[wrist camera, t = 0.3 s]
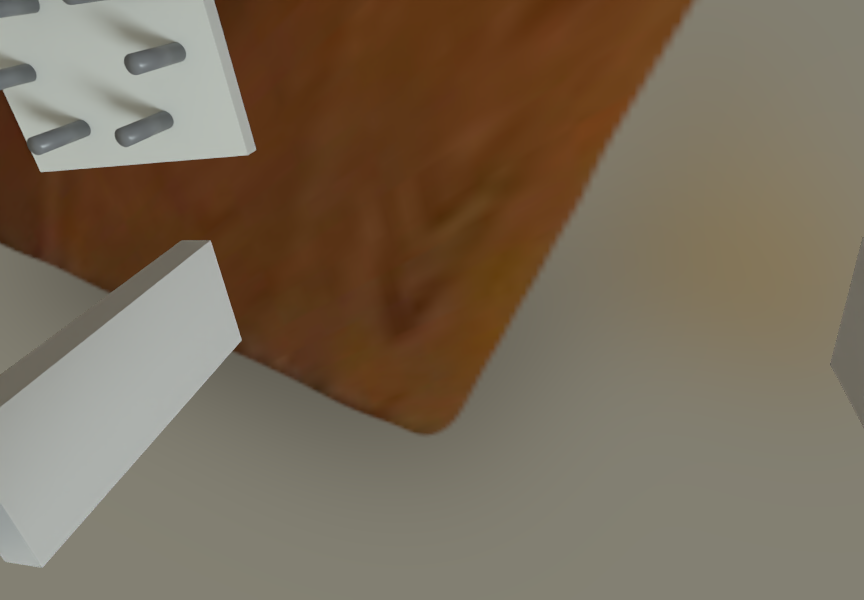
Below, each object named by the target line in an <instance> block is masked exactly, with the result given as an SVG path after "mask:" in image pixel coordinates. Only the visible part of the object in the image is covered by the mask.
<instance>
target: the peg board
mask: <svg viewBox="0 0 864 600" xmlns="http://www.w3.org/2000/svg"><path fill="white" fill-rule="evenodd" d="M2 89H3V92H4V94H5V96H6V98H7V100H8V102H9V105H10V107H11V109H12V111H13V113H14V115H15V118H16V120H17V122H18V124H19V126H20V128H21V131H22V133H23V135H24V137H25V139H26V141H27V146H28V148H29V150H30V151H31V152H32V154H33V157H34V159H35V161H36V163H37V165H38V167H39V170H40V172H48V171H60V170H72V169H85V168H97V167H109V166H121V165H133V164H145V163H158V162H170V161H182V160H194V159H206V158H218V157H231V156H243V155H249V154H251V153H252V152H254V151H255V150H256V147H255V144H254V140H253V137H252V133H251V130H250V126H249V122H248V119H247V115H246V112H245V108H244V105H243V101H242V98H241V94H240V91H239V87H238V84H237V80H236V77H235V73H234V69H233V66H232V62H231V59H230V55H229V52H228V48H227V45H226V41H225V38H224V34H223V31H222V27H221V24H220V20H219V17H218V13H217V9H216V6H215V2H214V0H0V90H2Z"/></svg>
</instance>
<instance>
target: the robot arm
mask: <svg viewBox="0 0 864 600" xmlns="http://www.w3.org/2000/svg"><path fill="white" fill-rule="evenodd" d="M241 340H242V339H241V336H240V333H239V330H238V327H237V324H236V320H235V317H234V314H233V311H232V308H231V304H230V301H229V298H228V295H227V292H226V288H225V285H224V282H223V279H222V276H221V272H220V269H219V266H218V263H217V260H216V256H215V253H214V250H213V247H212V244H211V241H210V240H182V241H180V242H179V243H178V244H176V245H175V246H174V247H172V248H171V249H170V250H168V251H167V252H165V253H164V254H163V255H161V256H160V257H159V258H157V259H156V260H155V261H153V262H152V263H151V264H149V265H148V266H147V267H145V268H144V269H142V270H141V271H140V272H138V273H137V274H136V275H134V276H133V277H132V278H130V279H129V280H128V281H126V282H125V283H124V284H122V285H121V286H119V287H118V288H117V289H115V290H114V291H113V292H111V293H110V294H109V295H107V296H106V297H105V298H103V299H102V300H101V301H99V302H98V303H96V304H95V305H94V306H93V307H91V308H90V309H88V310H87V311H86V312H84V313H83V314H82V315H80V316H79V317H78V318H76V319H75V320H73V321H72V322H71V323H69V324H68V325H67V326H65V327H64V328H63V329H61V330H60V331H59V332H57V333H56V334H55V335H53V336H52V337H51V338H49V339H48V340H46V341H45V342H44V343H43V344H41V345H40V346H38V347H37V348H36V349H34V350H33V351H32V352H30V353H29V354H27V355H26V356H25V357H23V358H22V359H21V360H19V361H18V362H17V363H15V364H14V365H13V366H11V367H10V368H9V369H7V370H6V371H4V372H3V373H2V374H0V555H1V557H2V558H3V559H4V561H5V562H10V563H17V564H23V565H29V566H35V567H41V568H42V567H43V566H44V565H45V564H46V563H47V561H48V560H49V559H50V558H51V557H52V556H53V555H54V553H56V551H57V550H58V549H59V548H60V547H61V546H62V545H63V543H64V542H65V541H66V540H67V539H68V538H69V537H70V535H71V534H72V533H73V532H74V531H75V529H77V527H78V526H79V525H80V524H81V523H82V522H83V520H84V519H85V518H86V517H87V516H88V515H89V514H90V513H91V511H92V510H93V509H94V508H95V507H96V506H97V505H98V503H99V502H100V501H101V500H102V499H103V498H104V497H105V495H106V494H107V493H108V492H109V491H110V490H111V489H112V488H113V486H114V485H115V484H116V483H117V482H118V481H119V480H120V478H121V477H122V476H123V475H124V474H125V472H127V470H128V469H129V468H130V467H131V466H132V465H133V464H134V462H135V461H136V460H137V459H138V458H139V457H140V456H141V454H142V453H143V452H144V451H145V450H146V449H147V448H148V446H149V445H150V444H151V443H152V442H153V441H154V440H155V438H156V437H157V436H158V435H159V434H160V433H161V432H162V430H163V429H164V428H165V427H166V426H167V425H168V424H169V422H170V421H171V420H172V419H173V418H174V417H175V416H176V414H177V413H178V412H179V411H180V410H181V409H182V407H183V406H184V405H185V404H186V403H187V402H188V401H189V400H190V398H191V397H192V396H193V395H194V394H195V392H197V390H198V389H199V388H200V387H201V386H202V385H203V384H204V383H205V381H206V380H207V379H208V378H209V377H210V376H211V374H212V373H213V372H214V371H215V370H216V369H217V368H218V367H219V365H220V364H221V363H222V362H223V361H224V360H225V359H226V357H227V356H228V355H229V354H230V353H231V352H232V351H233V349H234V348H235V347H236V346H237V345H238V344H239V343H240V341H241ZM830 365H831V367H832V369H833V371H834V373H835V374H836V376H837V378H838V380H839V382H840V384H841V386H842V388H843V390H844V392H845V393H846V395H847V397H848V399H849V401H850V403H851V404H852V407H853V409H854V410H855V412H856V414H857V416H858V418H859V420H860V422H861V424H862V426H863V427H864V237H863V238H862V242H861V246H860V250H859V254H858V258H857V262H856V265H855V269H854V273H853V277H852V281H851V285H850V289H849V293H848V297H847V301H846V305H845V309H844V312H843V317H842V320H841V324H840V328H839V332H838V336H837V340H836V344H835V348H834V351H833V355H832V359H831V363H830Z"/></svg>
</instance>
